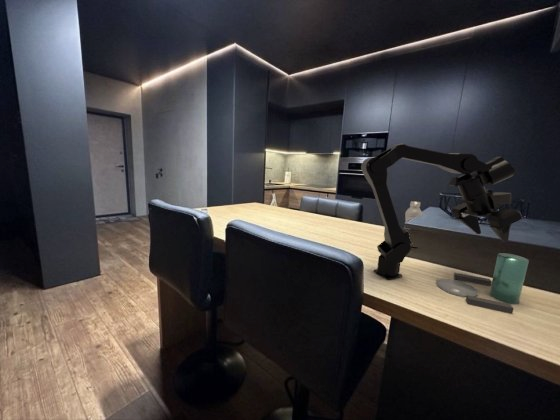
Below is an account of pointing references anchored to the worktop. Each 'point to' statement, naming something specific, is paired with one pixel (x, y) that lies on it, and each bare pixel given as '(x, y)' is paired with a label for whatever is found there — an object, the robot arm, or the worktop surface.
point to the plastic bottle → (413, 211)
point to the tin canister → (508, 278)
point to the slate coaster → (456, 287)
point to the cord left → (473, 279)
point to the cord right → (489, 304)
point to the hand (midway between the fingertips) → (491, 237)
